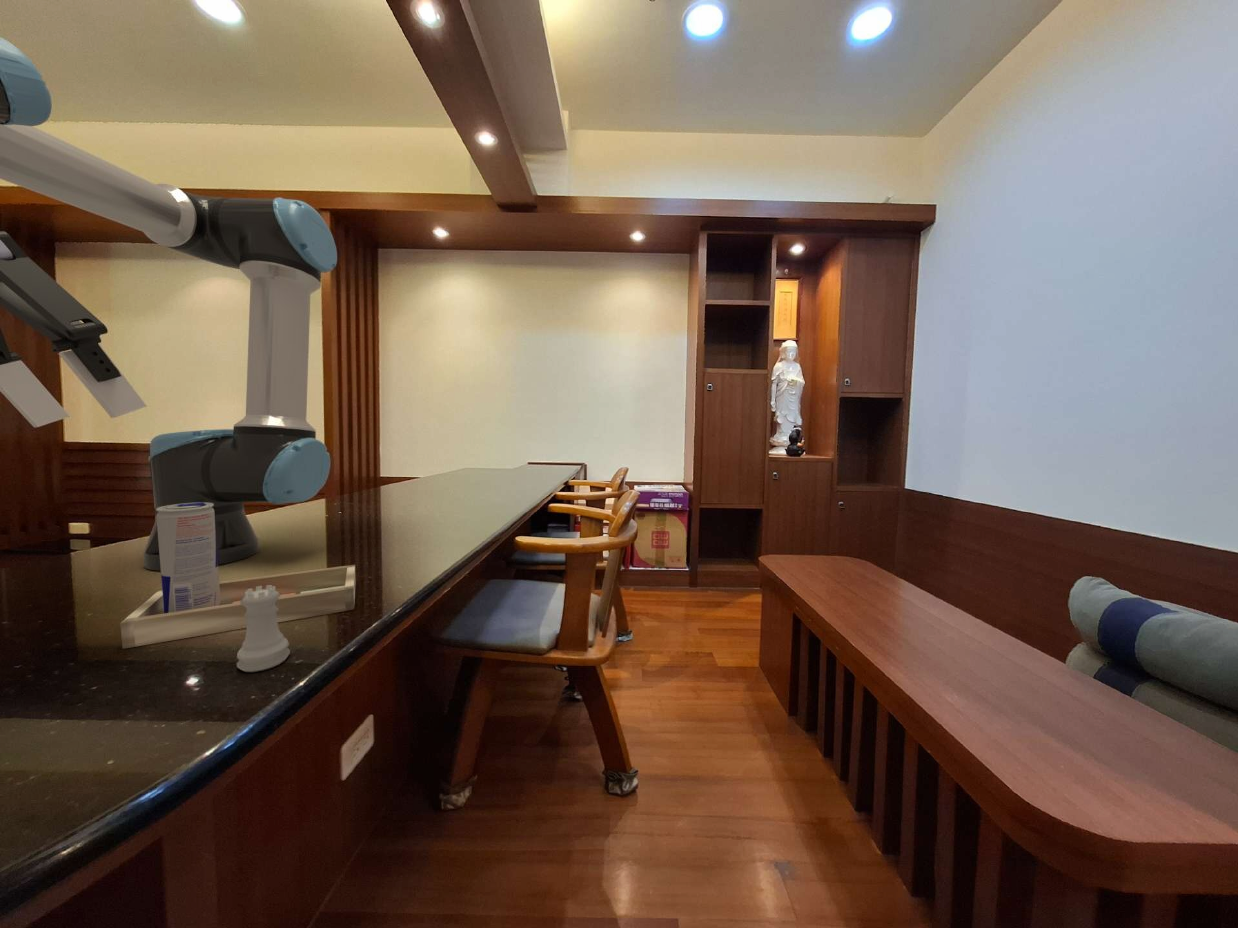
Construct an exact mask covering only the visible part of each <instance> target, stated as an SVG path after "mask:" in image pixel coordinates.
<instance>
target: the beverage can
mask: <svg viewBox="0 0 1238 928" xmlns="http://www.w3.org/2000/svg"><path fill="white" fill-rule="evenodd" d="M213 505H214V504H213V503H183V504H174V505H167V506H162V507H159V508H157V509H156V511H158V513H157V516H156V517H157V530H158V542H159V554H160V567H161V571H160V576H161V577H160V578H161V589H162V591H163V604H164V613H171V612H178V611H185V610H192V609H198V608H205V607H212V606H219V605H221V602H220V587H219V582H220V575H219V574H220V573H219V565H218V558H217V543H216V528H215V513H214V509H213V508H212V506H213Z"/></svg>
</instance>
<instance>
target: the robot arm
mask: <svg viewBox="0 0 1238 928" xmlns="http://www.w3.org/2000/svg"><path fill="white" fill-rule="evenodd" d="M52 107H53V106H52V97H51V93H50V90H49V88H47V84H46V81H45V80H44V79H43V76H42V74H41V73H40V70H39V69H38V68H37V66H36V65H35V64H34V63H33V61H31V59H30V58H29V57H28V56H27V55H26V54H25V53H23V51H21V50H20V49H19V48H18V47H16V46H15V45H14V44H12V43H11V42H10V41H8V40H6V39H5V38H3V37H2V36H0V180H3V181H5V182H8V183H11V184H14V185H17V186H19V187H22V188H24V189H27V190H29V191H32V192H35V193H38V194H39V195H43V196H46V197H48V198H51V199H53V200H57V201H60V202H62V203H65V204H67V205H69V206H73V207H75V208H77V209H81V210H84V211H86V212H88V213H91V214H94V215H97V216H100V217H103V218H104V219H105V218H106V219H108V220H111V221H114V222H116V223H119V224H121V225H123V226H127V227H130V228H132V229H135V230H138V231H140V232H143V233H144V235H145V236H146V237H147V238H148V239H150V240H151V241H152V242H154V243H156V244H158V245H160V246H164V247H166V248H169V249H172V250H174V251H178V252H180V253H183V254H186V255H188V256H191V257H194V258H197V259H199V260H200V259H201V260H202V261H206V262H210V263H213V264H215V265H219V266H223V267H226V268H231V269H235V270H240V272H241V273H242V274H243V275H244V276H245V277H246V278H247V279H248V280H249V281H250V283H249V284H250V286H249V287H250V289H249V314H248V318H249V319H248V341H247V342H248V344H247V367H246V368H247V369H246V370H247V371H246V375H247V376H246V391H245V392H246V394H245V397H246V400H245V416H244V417H242V418H241V420H239V421H237V422H236V423H235V424H233V429H232V428H231V429H230V428H225V429H222V428H221V429H203V430H200V429H199V430H186V431H177V432H168V433H161V434H158V435H156V436H154V437H153V438H152V439H151V440H150V443H149V446H150V447H149V451H150V453H149V454H150V455H149V456H148V460H149V469H150V479H151V489H152V498H153V507H154V519H155V520H154V523H153V527H152V528H151V529H152V530H151V532H150V535H149V538H148V540H147V543H146V545H145V548H144V551H143V555H142V559H143V567H144V568H145V569H147V570H151V571H159V572H161V567H160V554H159V542H158V530H157V517H156V516H157V513H158V511H156V509H157V508H159V507H162V506H167V505H174V504H183V503H213V504H214V505H213V506H212V508H213V509H214V513H215V528H216V543H217V558H218V566H220V565H225V564H229V563H232V562H233V563H234V562H236V561H240V560H244V559H246V558H249V557H250V556H253V555H255V554H256V553H258V552H259V539H258V536H257V535H256V533H255V530H254V529H253V527H252V524H251V523H250V521H249V519H248V517H247V515H246V512H245V503H264V504H265V503H266V504H268V503H269V504H273V505H280V504H281V505H283V504H289V503H291V504H292V503H293V504H295V503H303V502H306V501H309V500H310V499H312V498H314V497H315V496H316V495H317V494H318V493H319V492H320V490H322V488H323V487H324V486H325V484H326V483H327V480H328V478H329V475H330V469H331V457H330V453H329V452H328V448H327V446H326V444H324V443H323V442H322V441H320V440H319V439H317V438H316V436H317V430H316V429H315V428H314V427H313V426H312V425H311V424H309V422H308V421H307V413H308V412H307V411H308V410H307V406H308V405H307V404H308V379H309V377H308V375H309V370H308V369H309V351H310V350H309V348H310V347H309V346H310V323H311V322H310V319H311V318H310V317H311V294H314V292H317V291H318V290H320V289H321V283H322V273H323V274H327V273H329V272H332V271H333V270H334V269H335V267H336V266H337V264H338V252H337V251H338V250H337V246H336V243H335V242H336V241H335V240H334V236H333V234H332V231H331V230H330V229H329V227H328V224H327V222H326V221H325V220H324V218H323V217H322V216H321V214H320V213H319V212H318V211H317V210H316V208H314V207H312V206H311V205H310V204H308V203H307V202H306V201H302V200H298V199H289V198H288V199H287V198H283V197H275V198H248V197H246V198H243V197H217V196H215V197H214V196H206V195H200V194H199V195H198V194H194V193H191V192H186V191H185V190H183V189H180V188H178V187H176V186H174V185H171V184H167V183H156V184H155V183H153V182H151V181H149V180H147V179H144V178H142V177H140V176H138V175H137V174H134V173H132V172H130V171H128V170H126V169H124V168H121V167H119V166H117V165H115V164H113V163H111V162H109V161H106V160H105V159H103V158H101V157H99V156H96V155H94V154H92V153H90V152H88V151H85V150H84V149H81V148H79V147H77V146H75V145H73V144H71V143H69V142H67V141H65V140H62V139H61V138H59V137H56V136H54V135H52V134H50V133H48V132H46V131H44V130H42V129H39V128H37V126H41V125H42V124H44V123H46V122H47V121H48V120H49V118H50V116H51V114H52ZM0 307H1V308H3V309H4V310H5V311H7V312H8V313H10V314H11V315H13V316H14V317H16V318H17V319H19V320H20V321H22V322H23V323H25V324H26V325H27V326H29V327H30V328H32V329H33V330H35V331H36V332H38V333H39V334H41V335H42V336H44V337H45V338H47V339H48V340H50V343H51V349H52V350H51V351H52V352H53V353H56V354H58V356H59V357H60V358H61V359H62V361H63V362H64V363H65V364H66V365H67V366H68V367H69V369H70V370H71V371H72V372H73V374H75V376H76V377H77V379H78V380H80V382H81V383H82V384H83V385H84V387H85V388H86V389H87V390H88V392H89V393H90V395H92V396H93V398H94V399H95V400H96V402H98V404H100V406H101V408H102V409H103V410H104V411H105V412H106V413H107V414H108V416H109V417H110V419H111V418H113V419H114V418H118V417H121V416H124V415H127V414H129V413H131V412H135V411H138V410H141V409H143V408H146V407H147V404H146V403H145V401H144V400H143V399H142V398H141V396H140V395H139V394H138V392H137V391H136V390H135V388H133V386H132V385H131V384H130V382H129V381H128V380H127V378H126V377H125V376H124V374H123V373H122V372H121V371H120V369H119V367H117V365H116V364H115V363H114V362H113V360H112V359H111V358H110V357H109V355H108V354H107V352H106V351H105V350H104V349H103V347H102V346H101V345H100V344H101V343H102V339H101V335H106V334H108V333H109V332H108V328H107V326H106V325H105V324H104V323H103V322H102V321H101V319H99V318H97V316H95V315H94V313H92V312H91V311H89V310H88V309H87V308H86V307H85V306H84V305H83V304H82V303H81V302H79V301H78V300H77V299H76V298H75V297H74V296H72V295H71V294H70V293H69V292H68V291H67V290H66V289H65V288H64V287H62V286H61V285H60V284H59V283H58V282H57V281H56V280H55V279H54V278H53V277H51V276H50V275H49V274H48V273H47V272H46V271H44V270H43V269H42V268H41V267H40V266H39V265H38V264H37V263H36V262H34V261H33V260H32V259H31V258H30V257H29V256H28V255H27V254H26V252H25V251H24V250H23V249H22V248H21V247H20V245H18V243H17V242H16V241H15V239H13V237H12V236H10V234H9V233H7V232H6V231H3V230H0ZM22 359H23V357H22V356H21V355H20V354H18V353H16V352H13V351H12V350H10V349H9V347H8V345H7V341H6V339H5V336H4V333H3V331H2V328H1V327H0V392H1V394H2V395H4V397H5V398H6V399H7V400H8V401H9V403H11V404H12V406H13V407H14V408H15V409H16V410H17V411H18V412H19V413H20V414H21V415H22V416H23V417H24V419H26V420H27V422H28V423H29V424H31V426H32V427H33V428H40V427H42V426H45V425H48V424H51V423H54V422H58V421H61V420H63V419H64V420H65V419H67V418H69V417H71V415H69V413H68V412H67V411H66V410H65V409H64V407H63V406H62V405H61V404H60V403H59V402H58V401H57V399H56V398H55V397H54V396H53V395H52V394H51V393H50V392H49V391H48V390H47V388H46V387H45V386H44V385H43V384H42V383H41V381H40V380H39V379H38V378H37V377H36V376H35V375H34V373H33V372H32V371H31V370H30V369H29V368H28V367H27V365H26V364H25V363H24V362H23V361H22Z"/></svg>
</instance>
